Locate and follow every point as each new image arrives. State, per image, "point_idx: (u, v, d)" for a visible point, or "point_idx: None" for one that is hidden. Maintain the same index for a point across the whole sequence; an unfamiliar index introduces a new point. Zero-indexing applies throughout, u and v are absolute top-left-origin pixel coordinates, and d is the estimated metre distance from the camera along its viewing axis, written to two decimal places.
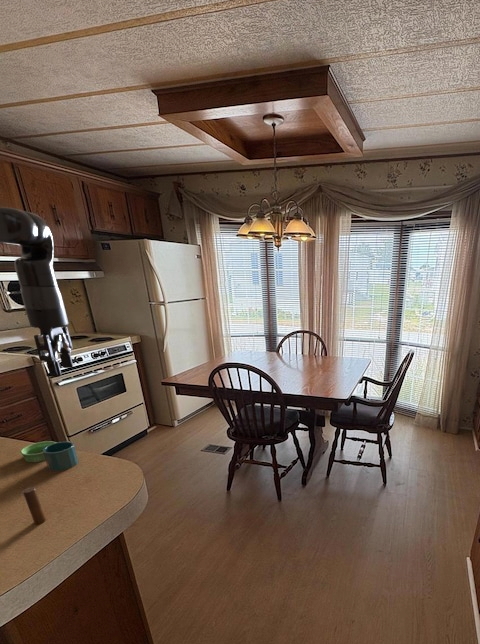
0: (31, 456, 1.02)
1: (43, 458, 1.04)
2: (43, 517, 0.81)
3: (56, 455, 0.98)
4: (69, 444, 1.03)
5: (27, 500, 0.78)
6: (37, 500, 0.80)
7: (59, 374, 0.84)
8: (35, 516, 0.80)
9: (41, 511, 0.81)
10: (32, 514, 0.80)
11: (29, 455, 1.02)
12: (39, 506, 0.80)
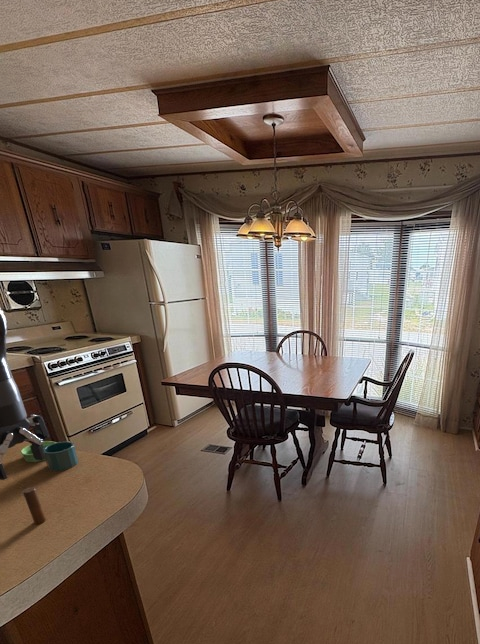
0: (31, 456, 1.02)
1: None
2: (43, 517, 0.81)
3: (56, 455, 0.98)
4: (69, 444, 1.03)
5: (27, 500, 0.78)
6: (37, 500, 0.80)
7: (3, 478, 0.72)
8: (35, 516, 0.80)
9: (41, 511, 0.81)
10: (32, 514, 0.80)
11: (29, 455, 1.02)
12: (39, 506, 0.80)
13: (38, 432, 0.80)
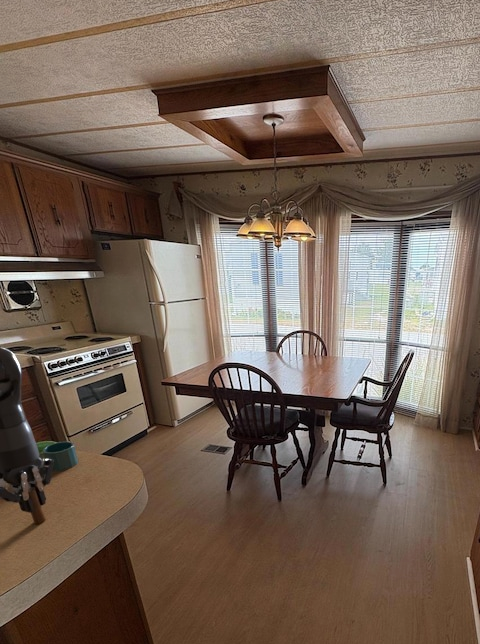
0: None
1: (43, 458, 1.04)
2: (43, 517, 0.81)
3: (56, 455, 0.98)
4: (69, 444, 1.03)
5: None
6: (37, 500, 0.80)
7: (30, 511, 0.78)
8: (35, 516, 0.80)
9: (41, 511, 0.81)
10: (32, 514, 0.80)
11: None
12: (39, 506, 0.80)
13: (41, 477, 0.82)
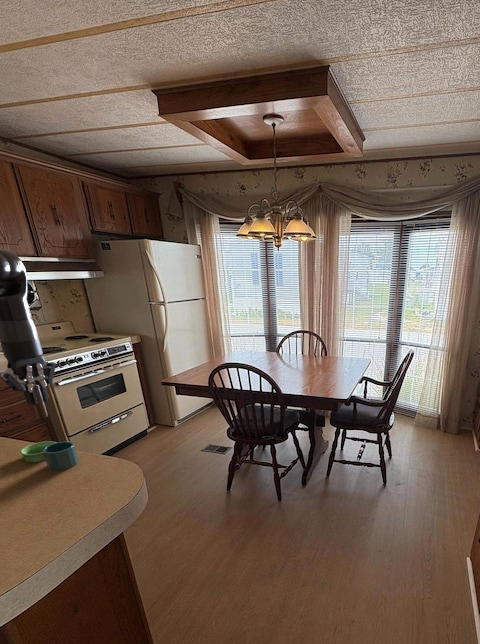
0: (31, 456, 1.02)
1: (43, 458, 1.04)
2: (46, 413, 0.92)
3: (56, 455, 0.98)
4: (69, 444, 1.03)
5: None
6: (40, 395, 0.90)
7: (34, 403, 0.89)
8: (39, 410, 0.91)
9: (44, 406, 0.92)
10: (36, 408, 0.91)
11: (29, 455, 1.02)
12: (42, 401, 0.91)
13: (44, 377, 0.93)
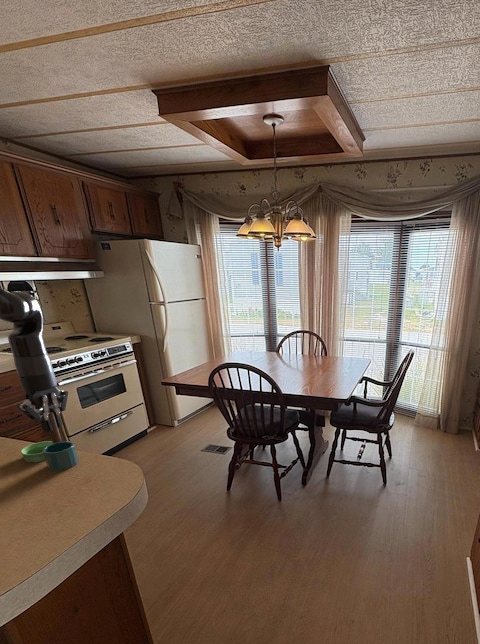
0: (31, 456, 1.02)
1: (43, 458, 1.04)
2: (59, 438, 0.99)
3: (56, 455, 0.98)
4: (69, 444, 1.03)
5: None
6: (55, 422, 0.97)
7: (50, 430, 0.96)
8: (53, 436, 0.98)
9: (58, 432, 0.99)
10: (51, 434, 0.98)
11: (29, 455, 1.02)
12: (56, 428, 0.98)
13: None
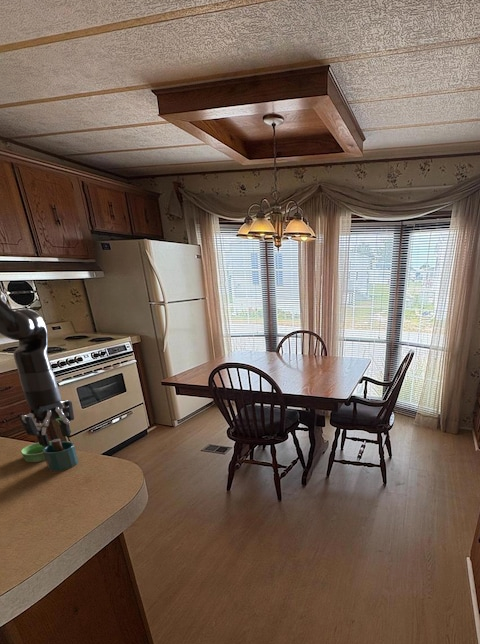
0: (31, 456, 1.02)
1: (43, 458, 1.04)
2: None
3: (56, 455, 0.98)
4: (69, 444, 1.03)
5: (54, 448, 0.99)
6: (62, 449, 1.00)
7: (47, 445, 0.96)
8: None
9: None
10: None
11: (29, 455, 1.02)
12: None
13: (66, 414, 1.03)
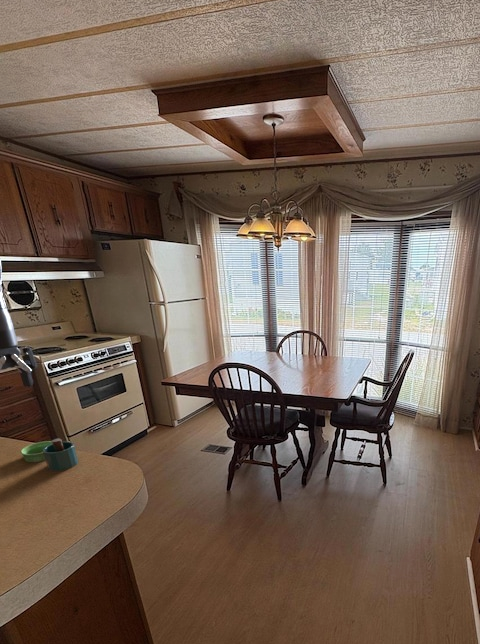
0: (31, 456, 1.02)
1: (43, 458, 1.04)
2: None
3: (56, 455, 0.98)
4: (69, 444, 1.03)
5: (55, 448, 0.99)
6: (63, 449, 1.01)
7: None
8: None
9: None
10: None
11: (29, 455, 1.02)
12: None
13: (27, 363, 0.93)
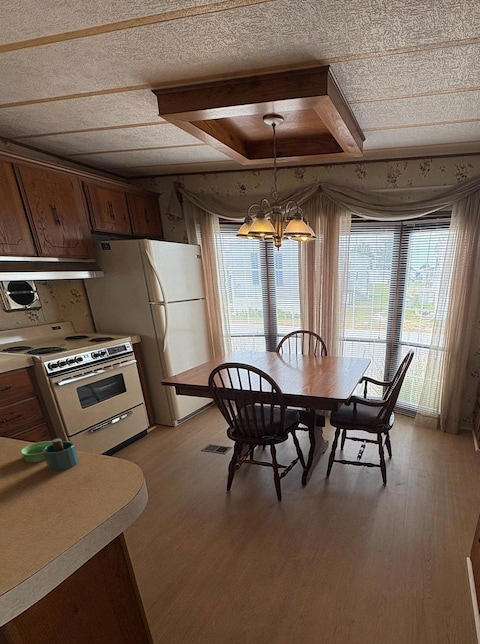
0: (31, 456, 1.02)
1: (43, 458, 1.04)
2: None
3: (56, 455, 0.98)
4: (69, 444, 1.03)
5: (55, 448, 0.99)
6: (63, 449, 1.01)
7: None
8: None
9: None
10: None
11: (29, 455, 1.02)
12: None
13: None
